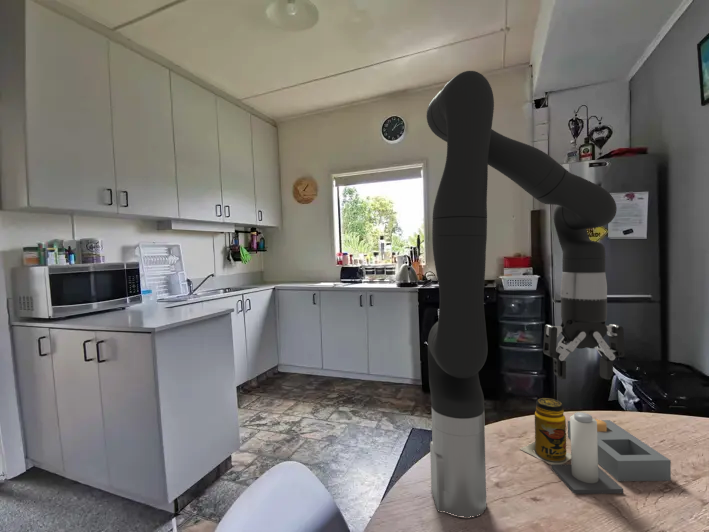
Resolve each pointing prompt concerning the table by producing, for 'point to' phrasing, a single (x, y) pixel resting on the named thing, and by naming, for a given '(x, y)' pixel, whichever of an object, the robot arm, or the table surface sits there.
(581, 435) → the cylinder
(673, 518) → the table surface
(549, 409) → the condiment
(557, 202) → the robot arm
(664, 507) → the table surface
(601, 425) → the plunger
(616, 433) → the block
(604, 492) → the mat
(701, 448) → the table surface
